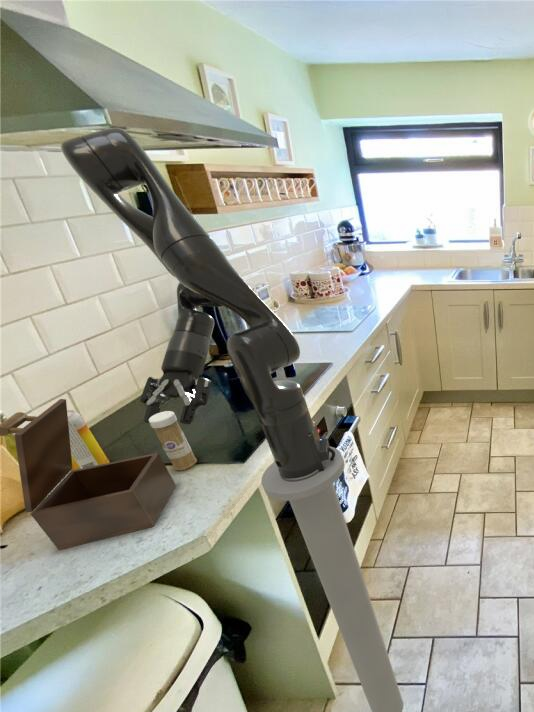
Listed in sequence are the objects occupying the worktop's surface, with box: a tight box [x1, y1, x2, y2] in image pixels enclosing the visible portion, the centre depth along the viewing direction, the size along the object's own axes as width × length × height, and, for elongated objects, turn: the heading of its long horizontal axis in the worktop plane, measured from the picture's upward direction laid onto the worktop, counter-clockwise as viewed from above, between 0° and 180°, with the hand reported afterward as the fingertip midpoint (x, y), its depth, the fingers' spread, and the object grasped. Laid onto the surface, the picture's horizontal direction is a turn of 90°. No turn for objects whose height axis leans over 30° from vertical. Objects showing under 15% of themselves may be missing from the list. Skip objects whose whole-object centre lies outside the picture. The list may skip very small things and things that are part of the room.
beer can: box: [67, 409, 111, 471], centre depth 92 cm, size 6×6×15 cm
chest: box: [30, 452, 177, 551], centre depth 81 cm, size 15×13×9 cm
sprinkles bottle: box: [148, 410, 198, 471], centre depth 93 cm, size 5×5×13 cm
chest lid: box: [0, 398, 73, 513], centre depth 73 cm, size 15×13×5 cm
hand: (167, 423), depth 92 cm, fingers open, 8 cm apart
